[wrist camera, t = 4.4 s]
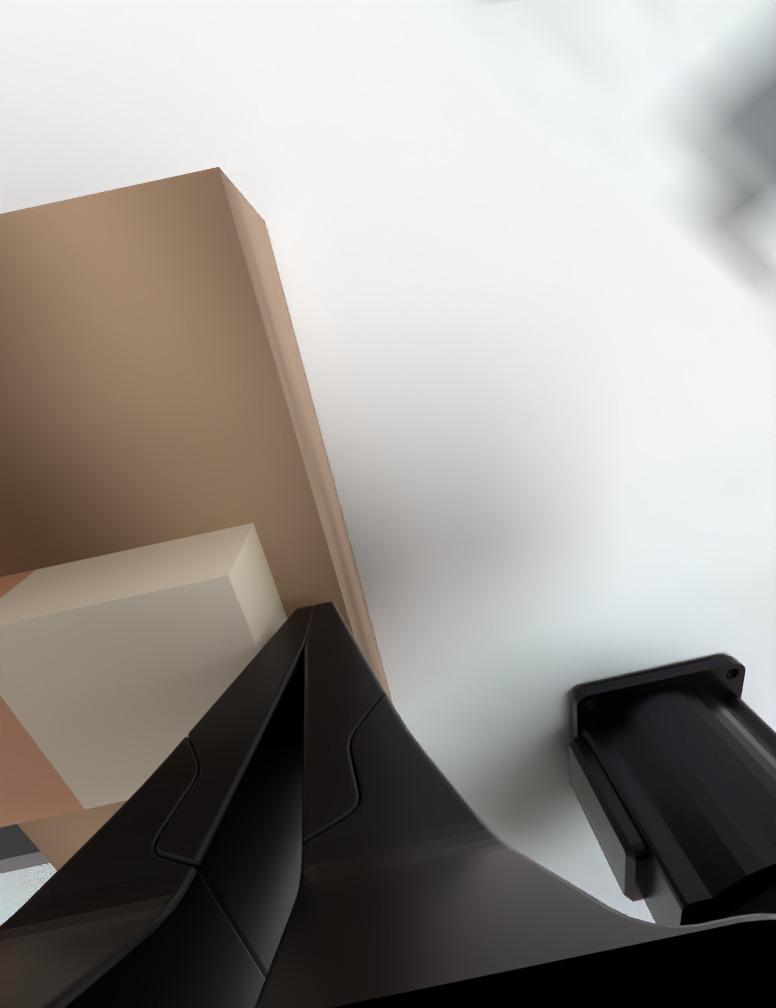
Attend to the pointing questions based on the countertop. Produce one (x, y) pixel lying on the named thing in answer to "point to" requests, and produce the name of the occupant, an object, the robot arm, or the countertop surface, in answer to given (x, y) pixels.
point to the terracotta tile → (27, 764)
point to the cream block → (132, 652)
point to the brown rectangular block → (159, 402)
